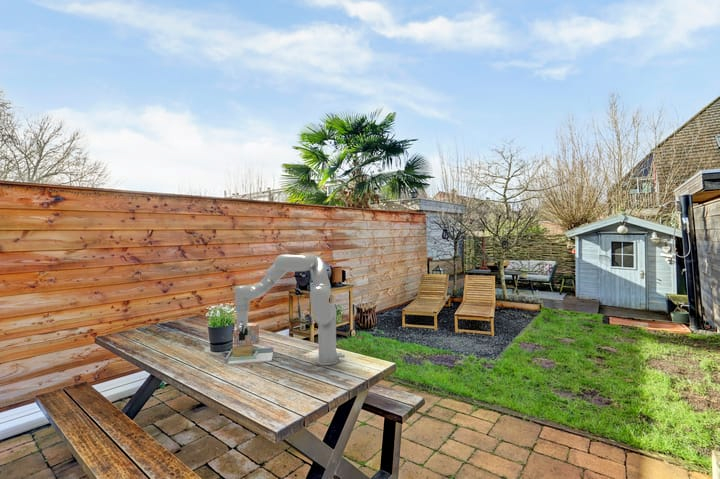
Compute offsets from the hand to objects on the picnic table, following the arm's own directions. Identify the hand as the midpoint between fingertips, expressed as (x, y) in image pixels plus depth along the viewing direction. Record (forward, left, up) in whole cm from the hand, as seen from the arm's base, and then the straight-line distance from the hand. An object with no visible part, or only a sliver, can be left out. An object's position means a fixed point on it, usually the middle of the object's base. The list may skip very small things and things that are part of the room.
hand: (243, 337), depth 191 cm
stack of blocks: (+6, -29, -12) cm, 32 cm away
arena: (-4, +2, -11) cm, 12 cm away
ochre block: (0, 0, -11) cm, 11 cm away
